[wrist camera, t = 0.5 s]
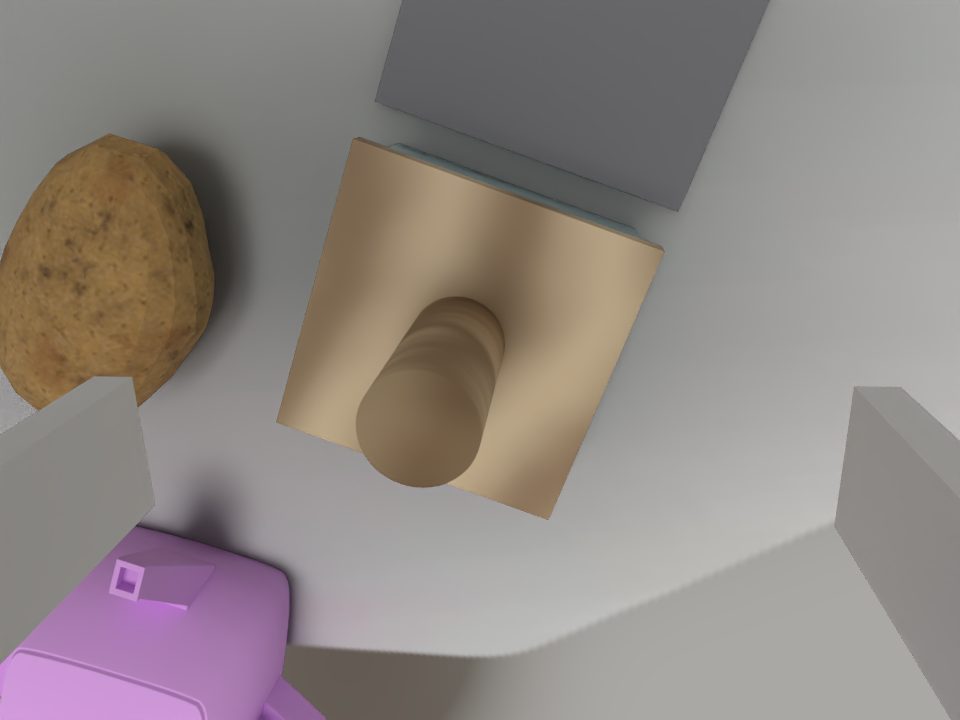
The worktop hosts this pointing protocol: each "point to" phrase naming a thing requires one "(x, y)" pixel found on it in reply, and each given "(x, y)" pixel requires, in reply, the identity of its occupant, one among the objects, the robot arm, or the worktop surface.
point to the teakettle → (160, 641)
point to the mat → (576, 80)
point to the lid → (461, 329)
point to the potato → (104, 274)
